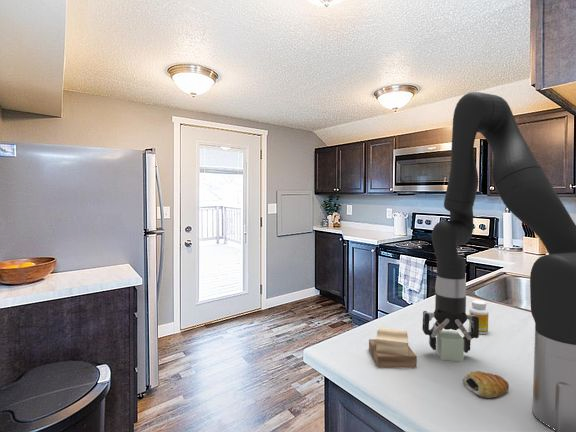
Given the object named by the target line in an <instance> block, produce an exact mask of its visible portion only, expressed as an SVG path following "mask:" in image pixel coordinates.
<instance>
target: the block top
mask: <svg viewBox="0 0 576 432" xmlns="http://www.w3.org/2000/svg"><path fill="white" fill-rule="evenodd" d="M376 332H377V333H376V338H375V339H376V352H382V353H389V354H397V355H404V356H408V346H409V336H408V330H407V329H406V330H405V329H404V330H403V329H397V328H396V329H394V328H388V327H387V328H386V327H377V331H376Z"/></svg>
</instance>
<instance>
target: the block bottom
mask: <svg viewBox="0 0 576 432" xmlns="http://www.w3.org/2000/svg"><path fill="white" fill-rule="evenodd" d="M376 339H377V338H374V339H372V338H371V339H368V350H369V353H370V355H371V357H372V359H373V360H374V363H375V364H377V365H376V367H377V366H378V367H383V368H382V369H385V368H386V369H387V368H389V369H390V368H391V369H392V368H395V369H397V368H398V369H400V368H401V369H403V368H405V369H406V368H407V369H409V368H412V369H413V368H414V369H415V368H417V362H418V360H417V359H418V357H417V355H416V354H415V352H414V351H413V349H412V348H411V347H410V345H408V356H404V355H397V354H389V353H382V352H376ZM378 367H377V368H378Z"/></svg>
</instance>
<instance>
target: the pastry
mask: <svg viewBox="0 0 576 432" xmlns="http://www.w3.org/2000/svg"><path fill="white" fill-rule="evenodd" d="M462 383H463V384H464V386H465V388H466V389H467V390H469V391H471V392H473V393H474V394H475V395H477V396H479V397H481V398H484V399H491V398H499V396H502V394H503V395H504V394H507V393H508V392H509V391H508V390H509V388H510V387H509V386H510V385H509V383H508V381H507V380H505V379H504V378H503V377H502V376H501V375H499V374H492V373H490V372H485V371H480V370H476V371H470V372H468V373H467V374H466V375H465V376H464V377H463V378H462Z"/></svg>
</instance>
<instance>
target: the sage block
mask: <svg viewBox="0 0 576 432" xmlns="http://www.w3.org/2000/svg"><path fill="white" fill-rule="evenodd" d="M435 337H436V350H435V351H436V353H437V354H438V356H439V357H440V360H442V361H451V362H452V361H453V362H464V354H465V352H464V339H463V336H461V334H460V333H459V332H458V331H457V330H444V329H442V331H441V332H439V333H438V334H437V335H436V336H435Z"/></svg>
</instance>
